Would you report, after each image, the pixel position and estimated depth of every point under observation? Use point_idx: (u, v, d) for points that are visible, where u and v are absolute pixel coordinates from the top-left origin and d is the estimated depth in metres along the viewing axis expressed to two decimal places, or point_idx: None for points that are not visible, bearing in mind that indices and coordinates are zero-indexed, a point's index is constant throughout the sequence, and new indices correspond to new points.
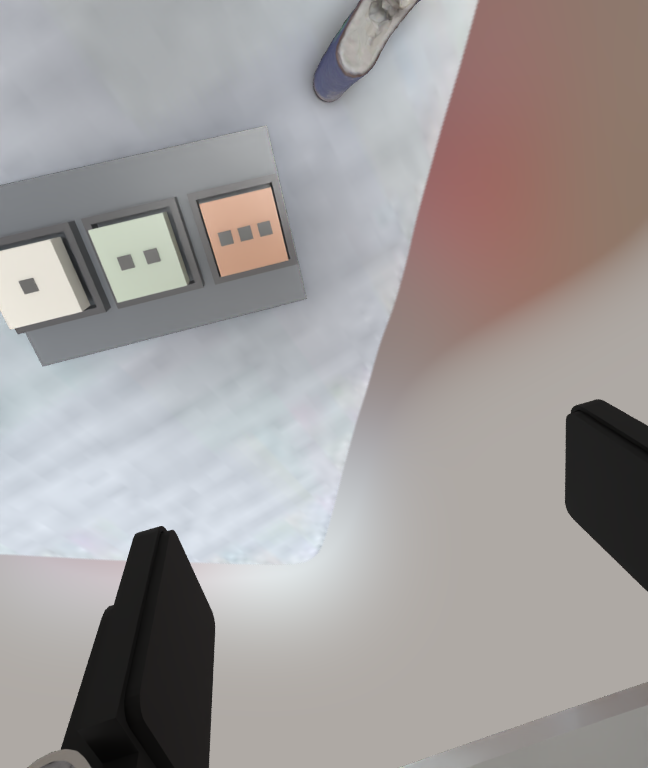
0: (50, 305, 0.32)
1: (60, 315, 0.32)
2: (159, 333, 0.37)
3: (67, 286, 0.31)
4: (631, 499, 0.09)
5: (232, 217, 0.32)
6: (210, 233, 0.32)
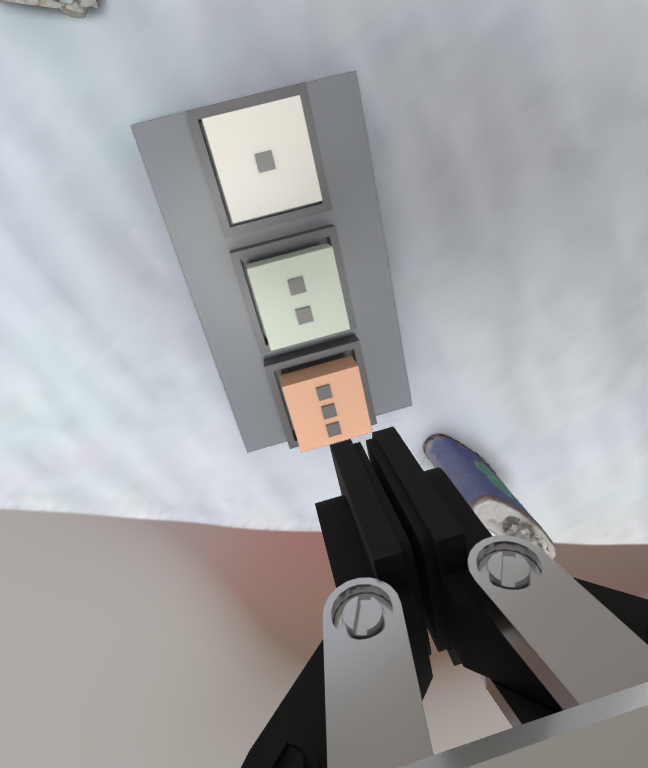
0: (239, 183, 0.24)
1: (226, 194, 0.24)
2: (194, 291, 0.29)
3: (265, 210, 0.25)
4: None
5: (344, 397, 0.30)
6: (328, 376, 0.29)
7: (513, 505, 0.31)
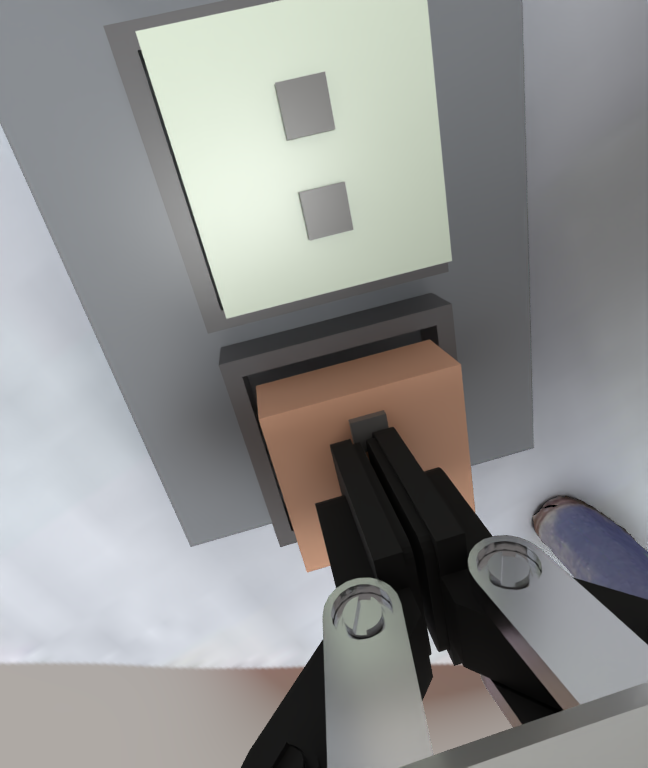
0: None
1: None
2: (30, 165, 0.11)
3: None
4: None
5: (419, 445, 0.12)
6: (383, 391, 0.11)
7: None
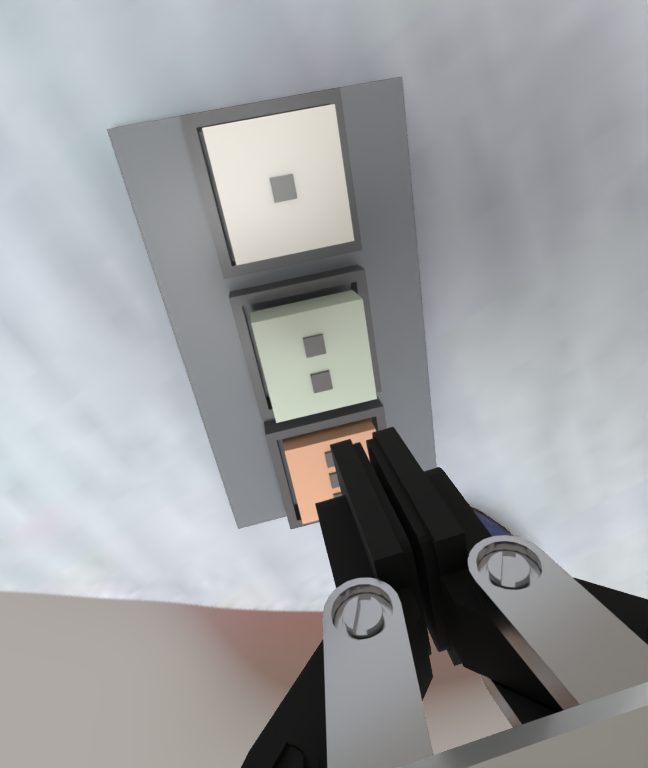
0: (248, 214, 0.18)
1: (229, 227, 0.18)
2: (181, 340, 0.23)
3: (279, 251, 0.19)
4: None
5: None
6: (340, 440, 0.24)
7: None
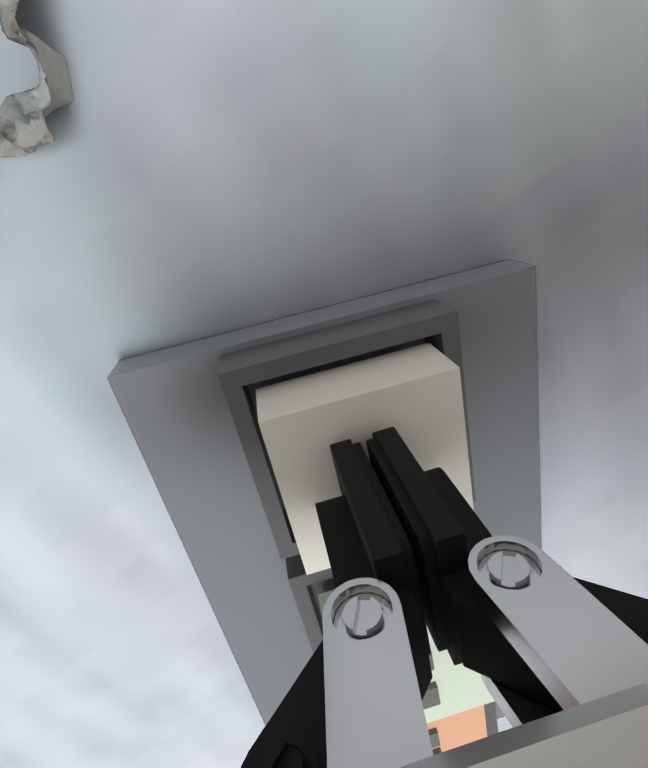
0: None
1: (297, 534, 0.12)
2: (219, 607, 0.17)
3: None
4: None
5: (456, 739, 0.19)
6: None
7: None
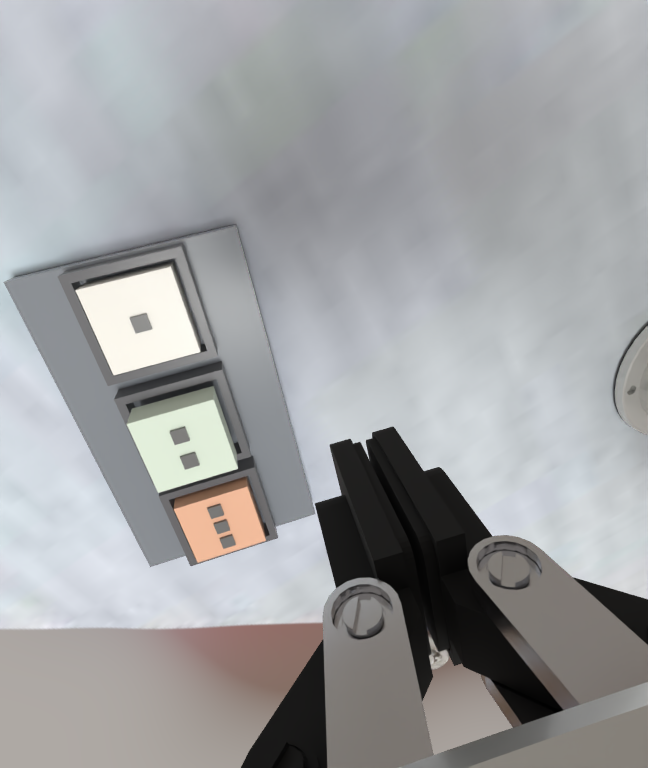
0: (117, 342, 0.25)
1: (104, 351, 0.25)
2: (83, 428, 0.29)
3: (144, 363, 0.26)
4: None
5: (236, 514, 0.32)
6: (219, 497, 0.31)
7: None
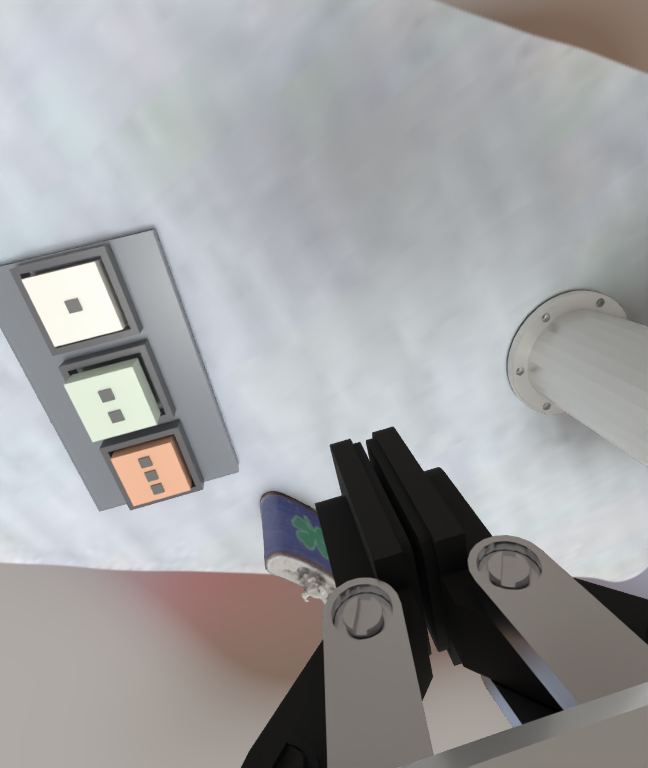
0: (56, 320, 0.33)
1: (46, 327, 0.33)
2: (38, 391, 0.37)
3: (78, 337, 0.33)
4: None
5: (163, 465, 0.39)
6: (147, 450, 0.38)
7: (304, 558, 0.39)
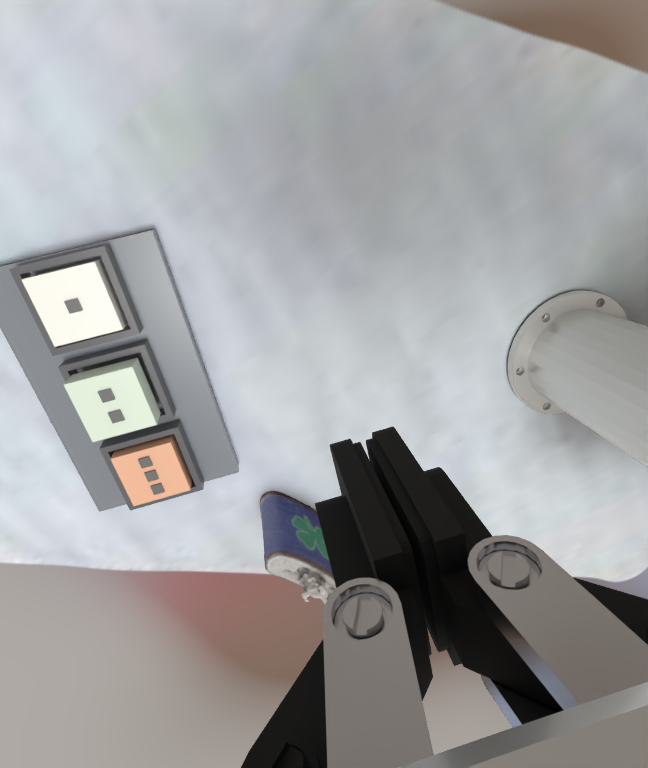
0: (56, 320, 0.33)
1: (46, 327, 0.33)
2: (38, 391, 0.37)
3: (78, 337, 0.33)
4: None
5: (163, 465, 0.39)
6: (147, 450, 0.38)
7: (304, 558, 0.39)
